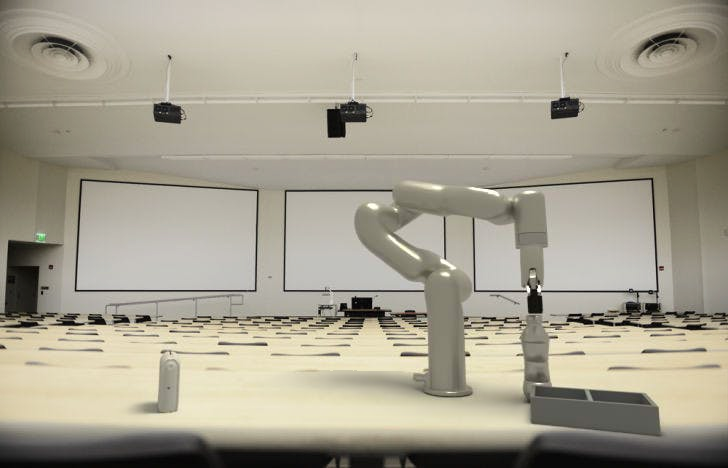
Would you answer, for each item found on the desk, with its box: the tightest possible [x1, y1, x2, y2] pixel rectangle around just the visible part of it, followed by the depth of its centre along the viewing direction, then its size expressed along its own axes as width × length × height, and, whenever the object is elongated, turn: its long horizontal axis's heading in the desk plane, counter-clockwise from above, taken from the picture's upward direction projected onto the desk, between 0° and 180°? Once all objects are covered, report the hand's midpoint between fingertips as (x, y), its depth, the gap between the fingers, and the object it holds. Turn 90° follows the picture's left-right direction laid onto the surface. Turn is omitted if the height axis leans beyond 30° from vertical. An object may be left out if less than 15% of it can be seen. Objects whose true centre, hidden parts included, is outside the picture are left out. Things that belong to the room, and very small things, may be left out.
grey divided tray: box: [529, 385, 662, 437], centre depth 93 cm, size 22×12×5 cm, turn 69°
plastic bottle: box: [519, 314, 553, 401], centre depth 109 cm, size 6×7×20 cm
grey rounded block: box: [157, 351, 181, 413], centre depth 105 cm, size 10×4×12 cm, turn 25°
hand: (535, 312), depth 110 cm, fingers open, 9 cm apart
